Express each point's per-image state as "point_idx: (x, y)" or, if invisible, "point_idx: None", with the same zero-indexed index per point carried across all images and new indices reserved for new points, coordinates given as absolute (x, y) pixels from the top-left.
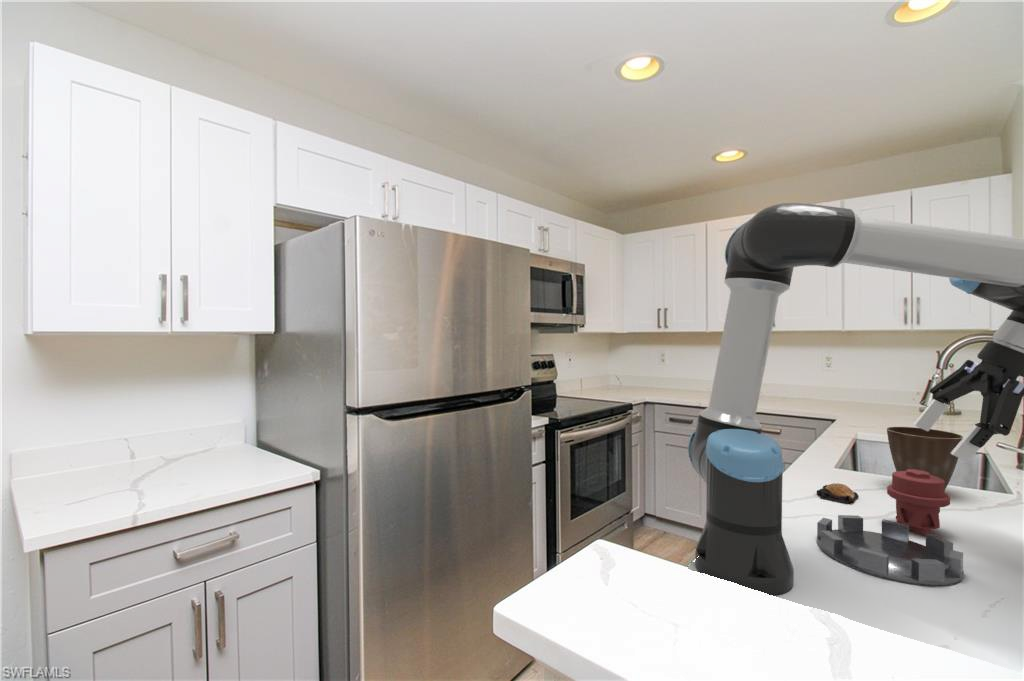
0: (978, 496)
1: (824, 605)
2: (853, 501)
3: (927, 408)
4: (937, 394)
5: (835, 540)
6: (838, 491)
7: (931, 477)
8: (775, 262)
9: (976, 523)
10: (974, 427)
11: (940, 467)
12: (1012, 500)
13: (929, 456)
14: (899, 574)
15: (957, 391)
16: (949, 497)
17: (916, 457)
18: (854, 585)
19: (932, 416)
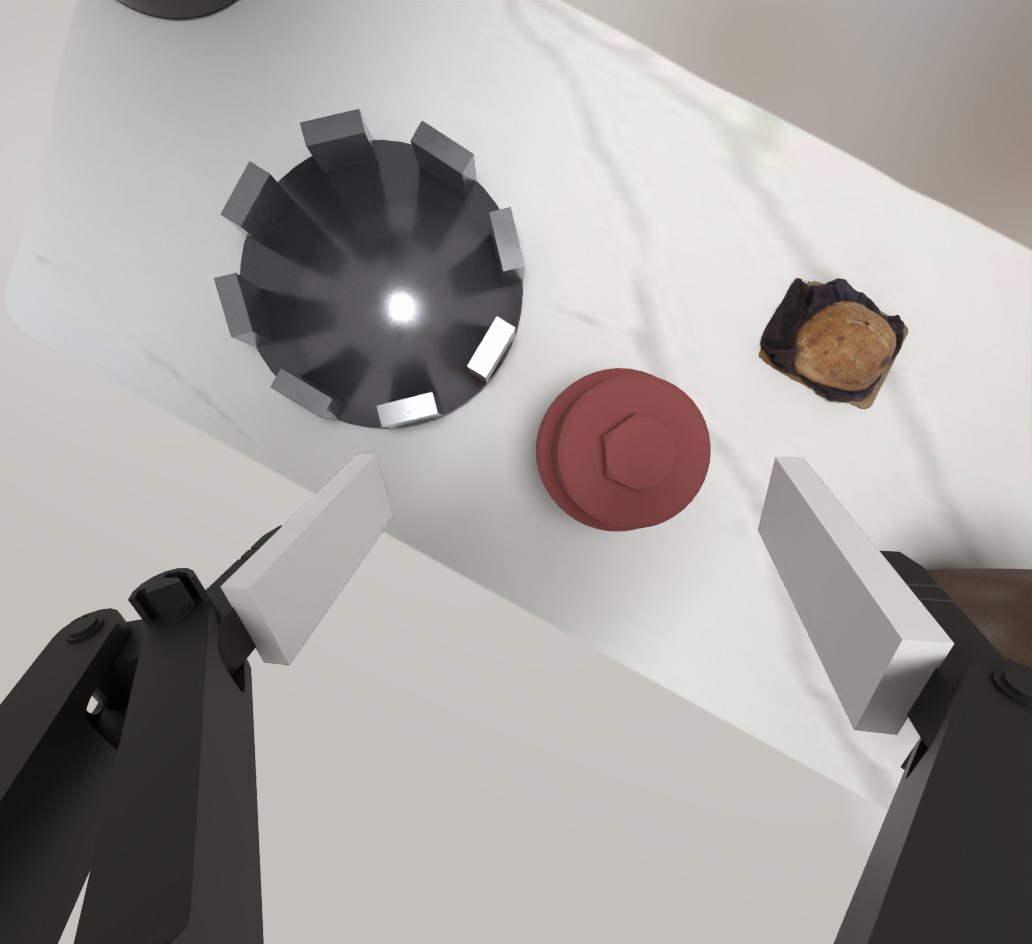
0: None
1: (75, 55)
2: (779, 367)
3: (860, 555)
4: (1010, 718)
5: (302, 128)
6: (818, 328)
7: (634, 496)
8: None
9: (689, 622)
10: (242, 574)
11: None
12: None
13: None
14: (264, 267)
15: (861, 922)
16: (581, 521)
17: (1019, 623)
18: (194, 155)
19: (806, 573)
